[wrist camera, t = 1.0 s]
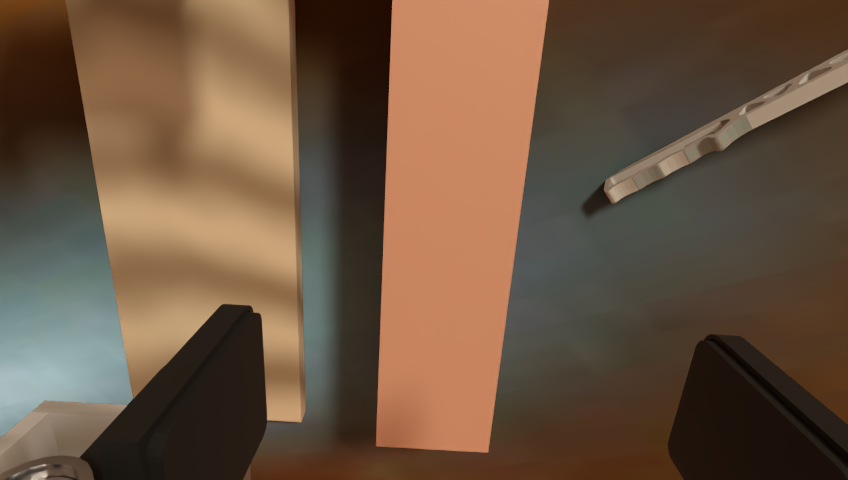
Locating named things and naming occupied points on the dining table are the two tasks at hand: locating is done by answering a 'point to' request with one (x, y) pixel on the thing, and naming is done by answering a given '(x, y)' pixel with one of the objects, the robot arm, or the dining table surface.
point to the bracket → (729, 127)
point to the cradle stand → (188, 191)
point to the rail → (452, 212)
